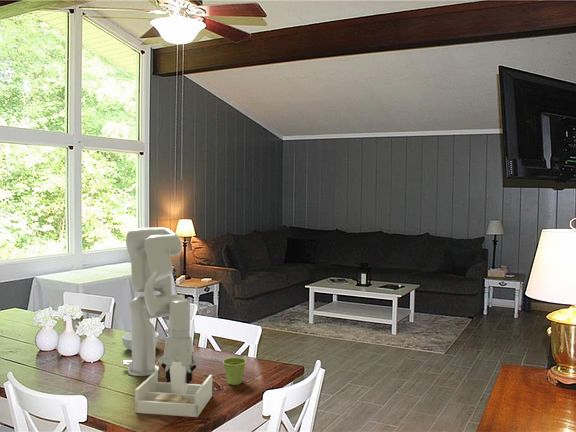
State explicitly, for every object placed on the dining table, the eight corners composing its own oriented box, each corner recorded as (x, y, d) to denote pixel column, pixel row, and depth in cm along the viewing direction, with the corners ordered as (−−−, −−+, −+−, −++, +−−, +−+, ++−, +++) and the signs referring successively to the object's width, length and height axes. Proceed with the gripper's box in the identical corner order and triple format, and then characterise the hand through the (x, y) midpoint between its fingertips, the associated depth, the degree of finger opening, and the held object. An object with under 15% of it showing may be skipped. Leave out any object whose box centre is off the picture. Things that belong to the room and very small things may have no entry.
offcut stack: (150, 412, 189) (150, 398, 189) (156, 406, 194) (156, 393, 194) (184, 414, 188) (184, 400, 188) (189, 408, 193) (189, 395, 192)
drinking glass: (184, 404, 196) (184, 362, 195) (166, 402, 197) (166, 361, 196) (191, 397, 203) (191, 357, 202) (173, 395, 204) (174, 355, 203)
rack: (135, 412, 188) (135, 389, 187) (155, 392, 207) (155, 371, 206) (197, 417, 185) (197, 393, 185) (212, 395, 204) (212, 374, 204)
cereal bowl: (131, 343, 269) (131, 329, 269) (164, 345, 267) (164, 331, 266) (115, 353, 252) (115, 338, 252) (150, 356, 250) (150, 340, 249)
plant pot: (226, 388, 212) (226, 366, 212) (219, 380, 221) (219, 358, 220) (249, 385, 216) (249, 363, 215) (241, 377, 224) (242, 356, 224)
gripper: (152, 334, 196) (152, 384, 197) (199, 337, 194) (199, 387, 195) (159, 329, 203) (159, 376, 204) (205, 331, 201) (205, 379, 202)
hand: (179, 381), depth 199 cm, fingers closed on drinking glass, 6 cm apart
